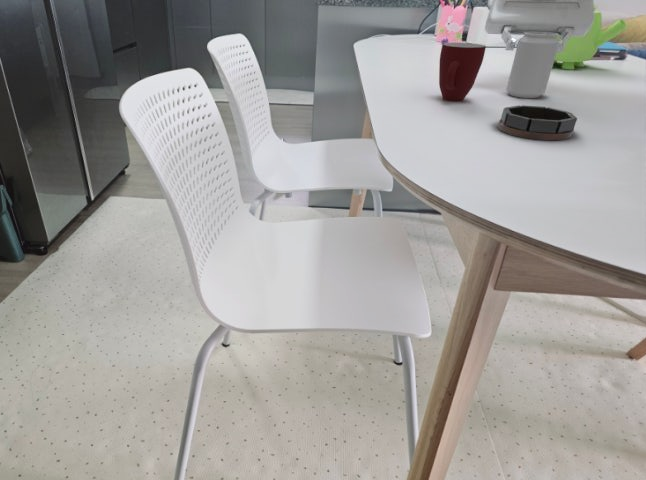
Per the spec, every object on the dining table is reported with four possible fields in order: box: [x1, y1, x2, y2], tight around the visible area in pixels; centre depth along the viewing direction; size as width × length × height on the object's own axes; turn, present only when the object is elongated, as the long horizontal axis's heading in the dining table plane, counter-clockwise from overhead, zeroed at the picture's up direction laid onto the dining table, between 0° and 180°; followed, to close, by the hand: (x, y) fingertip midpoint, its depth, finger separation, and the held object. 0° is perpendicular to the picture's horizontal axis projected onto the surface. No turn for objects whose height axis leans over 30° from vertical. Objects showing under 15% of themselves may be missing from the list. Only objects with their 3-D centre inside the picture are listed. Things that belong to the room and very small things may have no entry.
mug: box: [438, 42, 487, 102], centre depth 92 cm, size 10×8×10 cm
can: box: [505, 32, 560, 99], centre depth 96 cm, size 8×8×12 cm
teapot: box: [553, 4, 628, 70], centre depth 130 cm, size 25×22×16 cm
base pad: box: [497, 104, 578, 141], centre depth 75 cm, size 11×11×3 cm
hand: (534, 49), depth 97 cm, fingers open, 8 cm apart
